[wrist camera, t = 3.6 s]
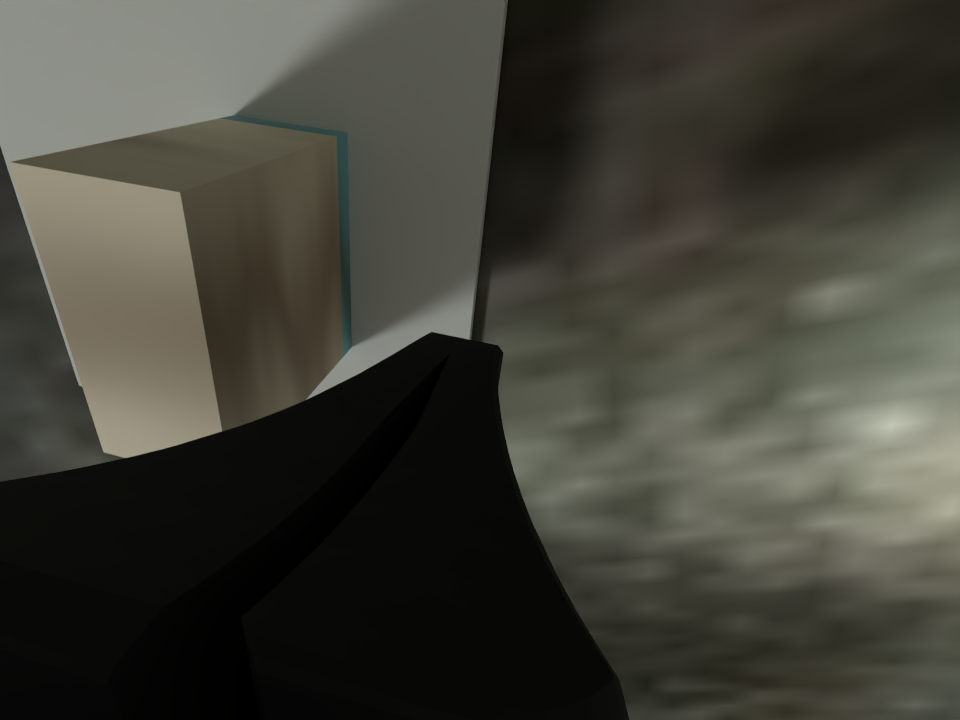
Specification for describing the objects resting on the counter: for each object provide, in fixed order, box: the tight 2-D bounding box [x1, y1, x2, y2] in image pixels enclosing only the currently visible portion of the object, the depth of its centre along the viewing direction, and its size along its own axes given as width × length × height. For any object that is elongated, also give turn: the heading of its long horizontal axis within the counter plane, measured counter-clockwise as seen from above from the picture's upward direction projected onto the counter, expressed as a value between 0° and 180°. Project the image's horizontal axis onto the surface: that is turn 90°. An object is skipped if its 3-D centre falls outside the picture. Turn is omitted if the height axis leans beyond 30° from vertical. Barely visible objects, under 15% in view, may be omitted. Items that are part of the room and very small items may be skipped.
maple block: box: [9, 115, 352, 458], centre depth 13 cm, size 6×3×6 cm, turn 174°
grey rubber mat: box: [0, 0, 508, 400], centre depth 16 cm, size 14×14×1 cm
